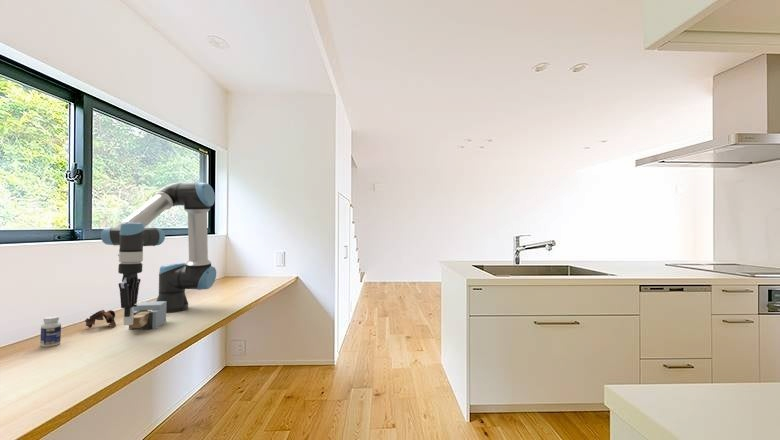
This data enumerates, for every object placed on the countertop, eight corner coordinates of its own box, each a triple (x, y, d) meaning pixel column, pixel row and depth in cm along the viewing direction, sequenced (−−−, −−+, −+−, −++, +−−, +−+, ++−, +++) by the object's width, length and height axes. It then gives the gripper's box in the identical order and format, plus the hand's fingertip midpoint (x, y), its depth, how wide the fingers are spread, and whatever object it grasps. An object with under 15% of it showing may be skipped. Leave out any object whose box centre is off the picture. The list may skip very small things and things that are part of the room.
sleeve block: (141, 322, 166) (141, 301, 166) (166, 321, 168) (166, 301, 168) (128, 329, 153) (128, 307, 154) (155, 328, 156) (155, 307, 156)
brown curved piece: (110, 331, 153) (97, 315, 150) (89, 341, 153) (76, 325, 150) (126, 316, 164) (115, 301, 162) (107, 326, 164) (95, 310, 162)
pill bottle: (44, 348, 130) (45, 320, 130) (37, 345, 132) (38, 318, 132) (63, 343, 135) (64, 316, 135) (55, 341, 137) (56, 314, 137)
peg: (141, 320, 159) (142, 311, 159) (152, 320, 160) (152, 310, 160) (128, 328, 147) (128, 318, 147) (140, 327, 148) (140, 317, 148)
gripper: (127, 261, 149) (125, 320, 148) (110, 264, 136) (108, 329, 135) (148, 261, 150) (146, 320, 150) (134, 264, 138) (131, 328, 137)
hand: (128, 324), depth 143 cm, fingers closed
